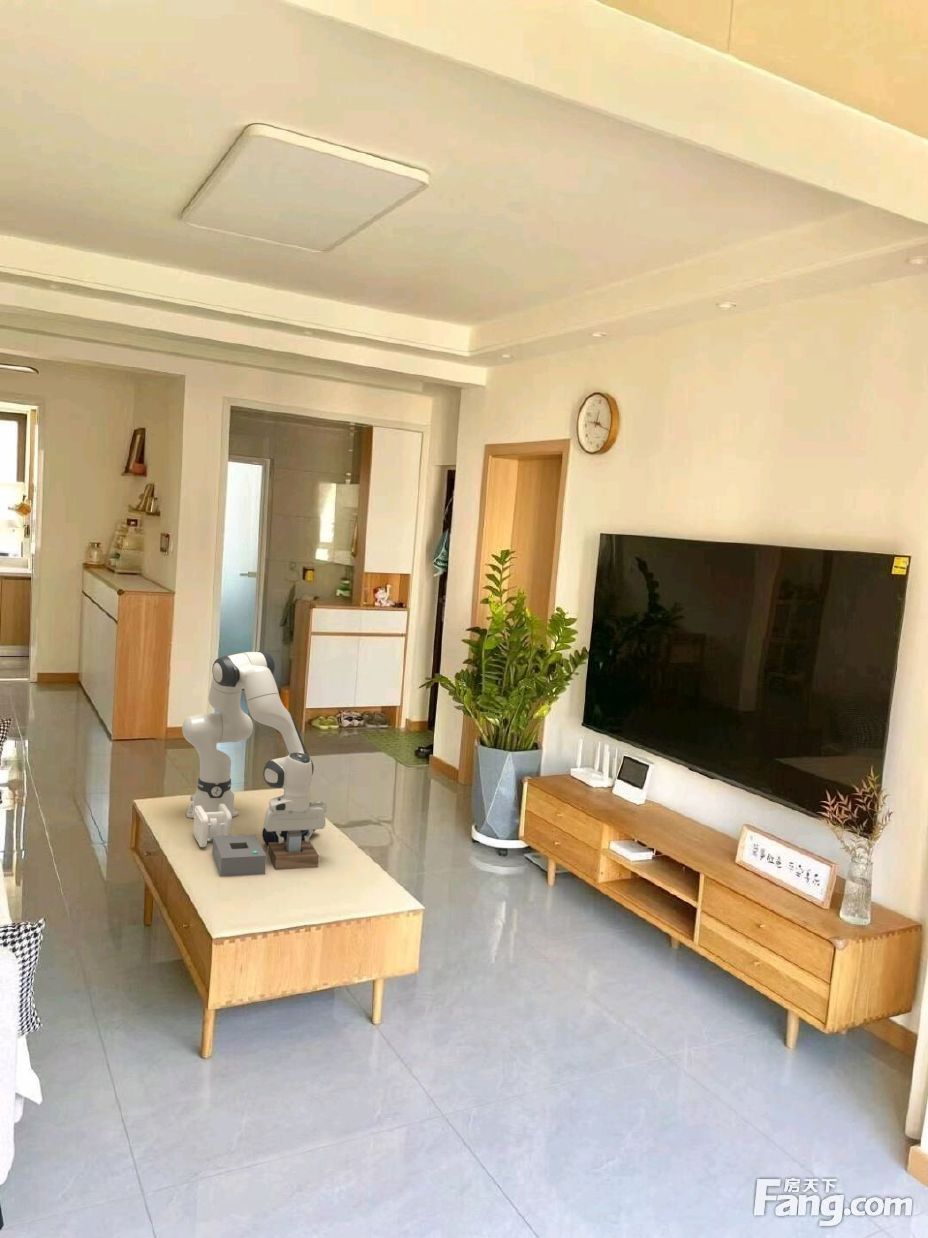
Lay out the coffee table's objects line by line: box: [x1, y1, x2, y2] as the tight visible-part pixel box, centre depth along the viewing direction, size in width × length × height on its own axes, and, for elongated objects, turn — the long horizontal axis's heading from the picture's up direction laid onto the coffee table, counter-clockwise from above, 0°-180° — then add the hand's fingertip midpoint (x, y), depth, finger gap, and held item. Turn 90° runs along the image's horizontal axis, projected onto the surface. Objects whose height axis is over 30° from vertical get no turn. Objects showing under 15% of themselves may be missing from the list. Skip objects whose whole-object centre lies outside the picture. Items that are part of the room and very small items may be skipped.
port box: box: [211, 833, 267, 877], centre depth 315 cm, size 20×14×6 cm
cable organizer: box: [192, 804, 233, 848], centre depth 331 cm, size 15×11×12 cm
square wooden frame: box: [267, 840, 319, 870], centre depth 322 cm, size 14×14×4 cm
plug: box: [286, 830, 302, 852], centre depth 321 cm, size 4×4×10 cm
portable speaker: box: [261, 827, 316, 847], centre depth 339 cm, size 25×10×10 cm, turn 155°
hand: (293, 842), depth 321 cm, fingers open, 7 cm apart
